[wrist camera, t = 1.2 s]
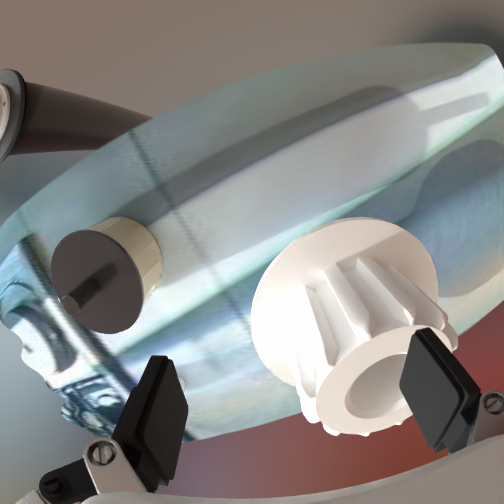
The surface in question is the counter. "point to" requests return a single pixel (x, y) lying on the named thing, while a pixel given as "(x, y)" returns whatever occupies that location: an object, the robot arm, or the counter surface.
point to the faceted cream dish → (136, 248)
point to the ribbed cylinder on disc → (348, 320)
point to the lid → (97, 281)
